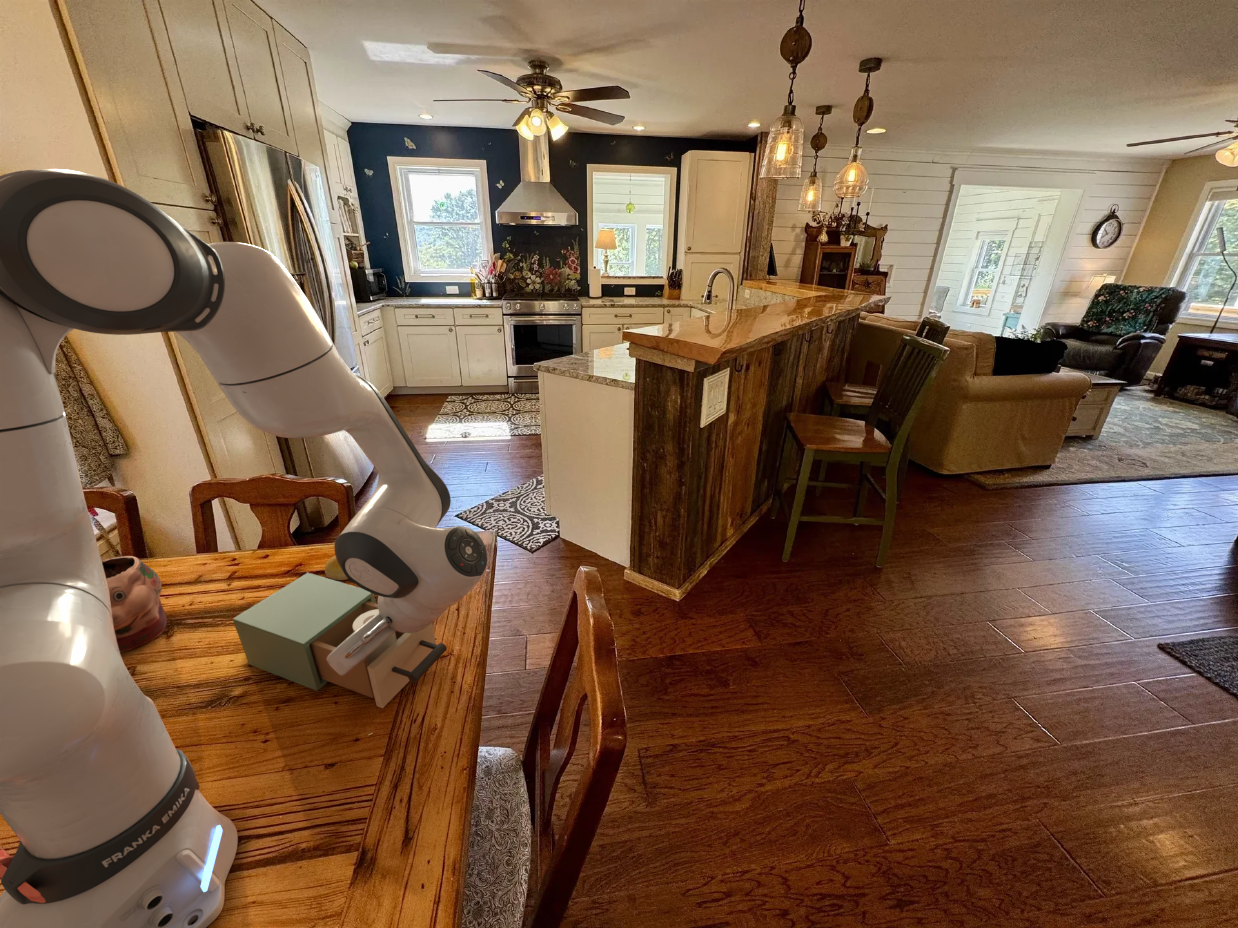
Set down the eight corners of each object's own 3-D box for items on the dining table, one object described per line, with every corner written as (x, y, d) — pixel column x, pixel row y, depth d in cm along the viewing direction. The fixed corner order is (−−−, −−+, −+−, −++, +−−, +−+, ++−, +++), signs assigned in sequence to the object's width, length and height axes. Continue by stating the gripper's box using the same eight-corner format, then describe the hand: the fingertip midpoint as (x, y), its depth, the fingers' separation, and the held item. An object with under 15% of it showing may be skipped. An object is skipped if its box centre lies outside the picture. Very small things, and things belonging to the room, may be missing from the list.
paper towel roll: (381, 676, 77) (372, 636, 74) (354, 666, 79) (344, 627, 76) (407, 651, 82) (399, 613, 79) (381, 643, 84) (372, 605, 81)
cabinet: (382, 634, 90) (373, 591, 86) (317, 691, 78) (303, 644, 74) (319, 613, 95) (307, 572, 91) (248, 664, 83) (232, 618, 79)
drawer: (460, 659, 83) (455, 622, 80) (408, 718, 73) (399, 678, 70) (372, 630, 89) (364, 595, 86) (311, 681, 79) (300, 643, 76)
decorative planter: (78, 623, 91) (46, 560, 86) (164, 593, 100) (139, 533, 94) (90, 680, 79) (53, 610, 74) (187, 640, 88) (160, 575, 82)
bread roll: (324, 567, 108) (320, 552, 107) (368, 555, 113) (365, 540, 112) (328, 587, 102) (324, 571, 101) (375, 573, 107) (371, 557, 105)
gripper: (372, 666, 63) (331, 699, 70) (468, 577, 81) (428, 610, 88) (338, 630, 63) (300, 667, 70) (443, 548, 81) (404, 584, 88)
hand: (373, 634), depth 79 cm, fingers closed on paper towel roll, 5 cm apart
